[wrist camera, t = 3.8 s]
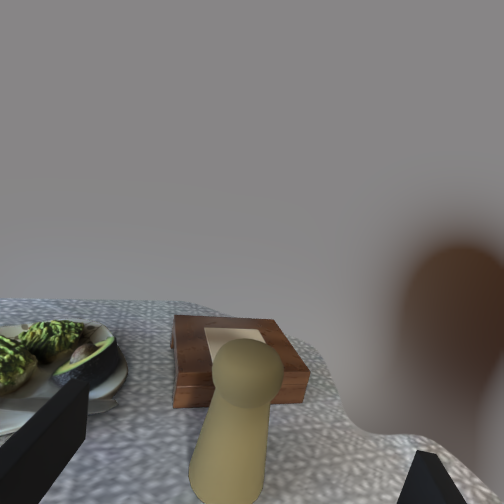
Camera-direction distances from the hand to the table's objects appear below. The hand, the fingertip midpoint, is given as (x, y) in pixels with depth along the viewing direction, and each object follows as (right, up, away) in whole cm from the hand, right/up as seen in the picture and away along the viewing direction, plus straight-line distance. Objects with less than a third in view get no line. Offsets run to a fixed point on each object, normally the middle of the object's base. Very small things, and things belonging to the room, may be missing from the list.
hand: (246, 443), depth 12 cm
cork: (-2, -10, +12) cm, 16 cm away
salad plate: (-21, -5, +18) cm, 28 cm away
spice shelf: (-2, -7, +25) cm, 26 cm away
